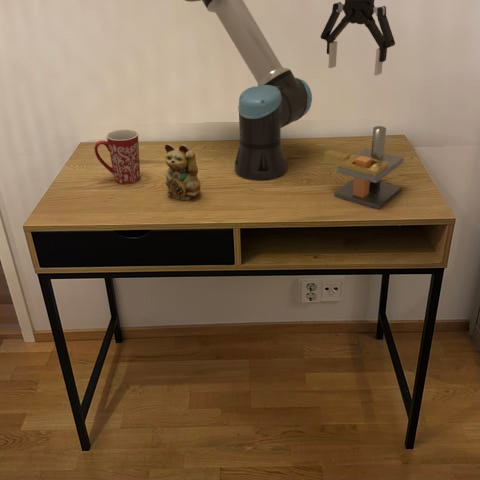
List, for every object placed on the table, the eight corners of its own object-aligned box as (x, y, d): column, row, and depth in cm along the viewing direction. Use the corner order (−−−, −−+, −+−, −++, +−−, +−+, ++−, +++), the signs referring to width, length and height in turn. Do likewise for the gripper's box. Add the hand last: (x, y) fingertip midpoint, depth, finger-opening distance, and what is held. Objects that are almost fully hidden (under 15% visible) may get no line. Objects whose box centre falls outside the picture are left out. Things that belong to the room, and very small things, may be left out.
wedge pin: (352, 195, 154) (355, 159, 149) (358, 190, 156) (361, 155, 151) (363, 197, 152) (366, 162, 147) (368, 193, 154) (371, 158, 149)
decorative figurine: (162, 199, 158) (157, 146, 150) (173, 186, 164) (169, 135, 157) (196, 203, 155) (193, 149, 148) (206, 189, 162) (203, 138, 154)
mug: (144, 171, 174) (139, 127, 167) (142, 184, 166) (137, 139, 159) (101, 173, 173) (94, 130, 167) (97, 187, 166) (90, 141, 159)
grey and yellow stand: (317, 193, 158) (320, 132, 149) (346, 174, 168) (350, 115, 160) (376, 211, 149) (383, 146, 140) (403, 189, 159) (411, 128, 150)
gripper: (309, -18, 150) (307, 67, 160) (401, -12, 136) (391, 80, 147) (324, -21, 155) (321, 61, 165) (414, -15, 141) (404, 73, 152)
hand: (354, 70), depth 156 cm, fingers open, 13 cm apart
